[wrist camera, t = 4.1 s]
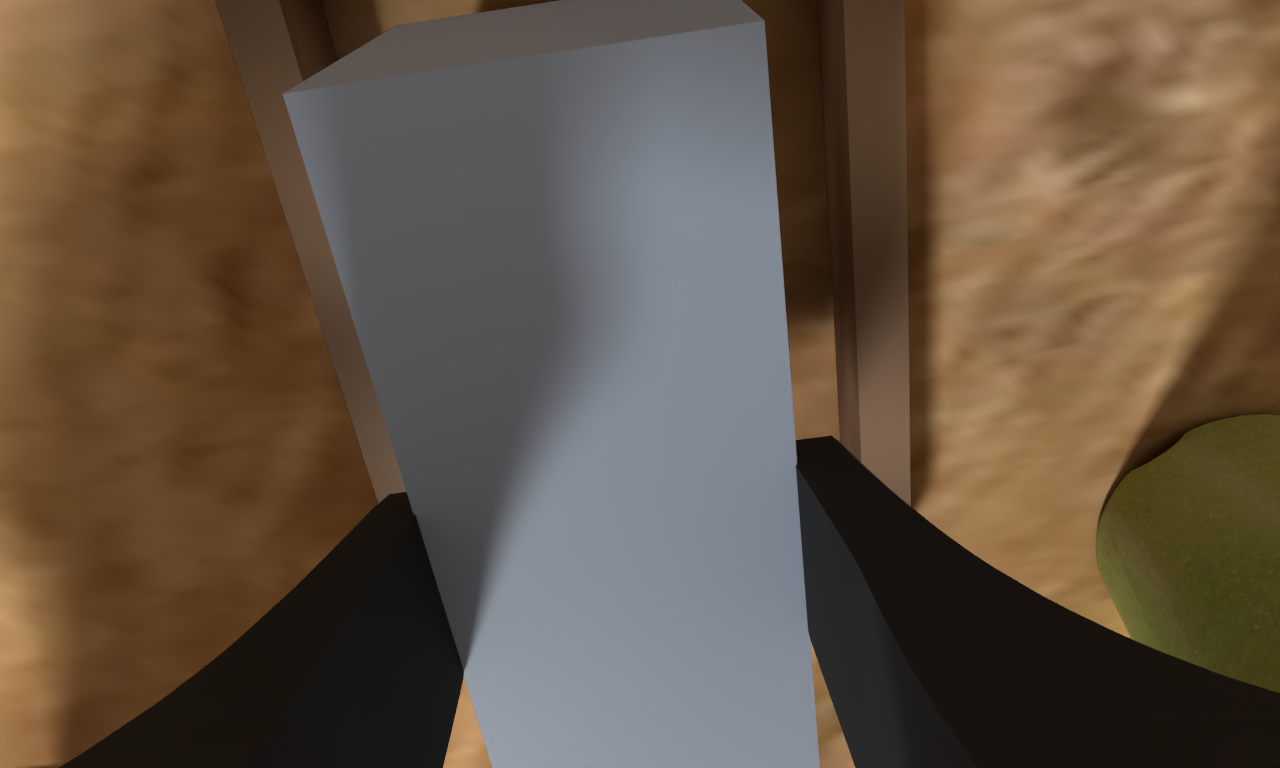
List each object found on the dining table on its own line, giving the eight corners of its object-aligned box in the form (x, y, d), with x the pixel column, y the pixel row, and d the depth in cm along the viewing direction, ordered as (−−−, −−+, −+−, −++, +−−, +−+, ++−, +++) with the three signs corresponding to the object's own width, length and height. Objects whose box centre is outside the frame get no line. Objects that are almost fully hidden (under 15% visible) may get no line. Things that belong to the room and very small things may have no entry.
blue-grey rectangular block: (777, 630, 18) (826, 862, 14) (552, 657, 19) (531, 895, 14) (714, -24, 13) (764, 20, 8) (395, 25, 13) (282, 93, 9)
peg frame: (886, 561, 23) (912, 622, 21) (450, 616, 24) (435, 680, 22) (867, -187, 16) (903, -201, 14) (239, -85, 16) (187, -85, 14)
